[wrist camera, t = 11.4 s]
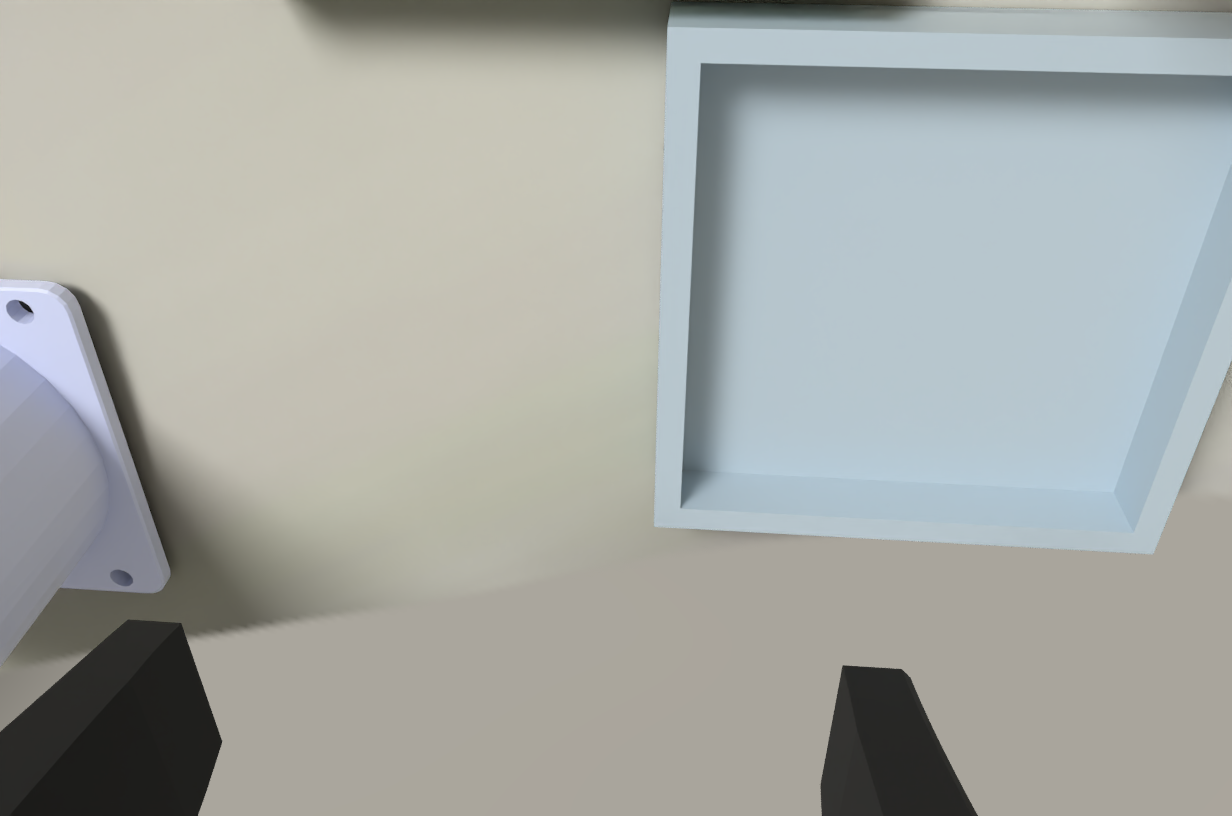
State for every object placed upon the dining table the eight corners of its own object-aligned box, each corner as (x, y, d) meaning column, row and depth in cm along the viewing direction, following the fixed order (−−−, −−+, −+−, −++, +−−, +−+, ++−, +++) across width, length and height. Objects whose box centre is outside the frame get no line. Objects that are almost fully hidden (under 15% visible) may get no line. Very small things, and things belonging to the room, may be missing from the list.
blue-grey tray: (657, 479, 21) (654, 526, 20) (671, 1, 16) (666, 26, 15) (1127, 503, 21) (1153, 554, 19) (1309, 14, 15) (1360, 42, 14)
